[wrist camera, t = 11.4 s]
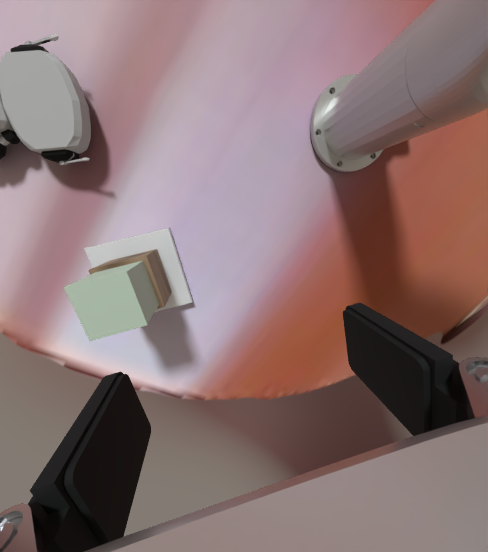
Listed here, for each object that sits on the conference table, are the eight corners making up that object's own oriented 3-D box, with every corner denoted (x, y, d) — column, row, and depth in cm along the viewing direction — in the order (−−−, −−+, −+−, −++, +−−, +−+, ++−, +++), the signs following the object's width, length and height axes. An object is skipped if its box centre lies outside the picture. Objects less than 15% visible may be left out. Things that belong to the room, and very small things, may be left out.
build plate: (169, 227, 35) (168, 228, 33) (192, 299, 38) (192, 302, 37) (88, 247, 34) (84, 248, 32) (119, 319, 37) (116, 322, 36)
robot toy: (-5, 176, 31) (109, 166, 31) (-43, 170, 26) (90, 158, 27) (-45, 66, 27) (83, 57, 28) (-96, 38, 23) (57, 28, 24)
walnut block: (157, 248, 34) (146, 255, 28) (171, 292, 36) (164, 306, 30) (109, 260, 33) (88, 270, 28) (126, 304, 35) (111, 321, 30)
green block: (143, 260, 28) (126, 271, 23) (159, 304, 30) (147, 325, 24) (93, 272, 28) (63, 287, 22) (112, 316, 29) (89, 341, 24)
